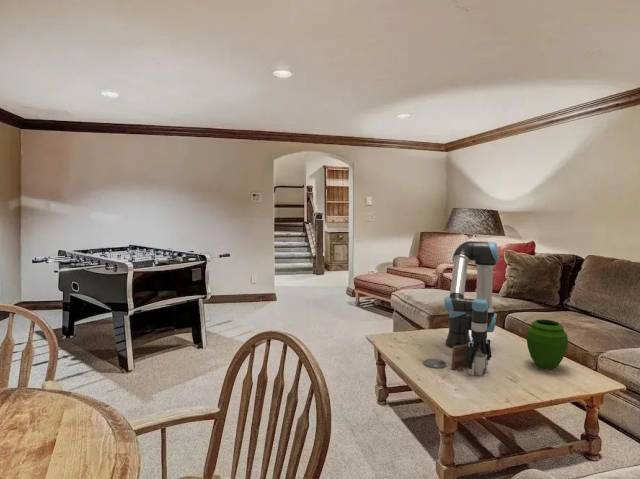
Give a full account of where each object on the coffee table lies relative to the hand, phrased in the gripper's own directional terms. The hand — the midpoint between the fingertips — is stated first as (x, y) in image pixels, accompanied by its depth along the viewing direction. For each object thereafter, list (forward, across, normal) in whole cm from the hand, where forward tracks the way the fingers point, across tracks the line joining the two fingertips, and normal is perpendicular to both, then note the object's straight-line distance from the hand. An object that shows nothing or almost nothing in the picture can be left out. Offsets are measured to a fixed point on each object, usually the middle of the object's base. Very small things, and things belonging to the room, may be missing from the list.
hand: (477, 373), depth 208 cm
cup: (0, 0, 0) cm, 0 cm away
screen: (0, +2, +9) cm, 9 cm away
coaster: (0, -12, +19) cm, 23 cm away
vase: (+1, +39, -9) cm, 40 cm away
